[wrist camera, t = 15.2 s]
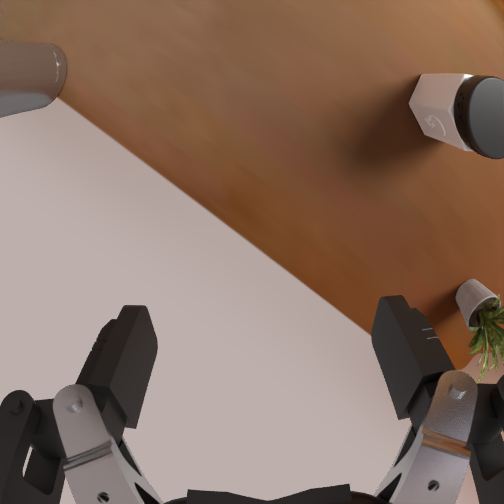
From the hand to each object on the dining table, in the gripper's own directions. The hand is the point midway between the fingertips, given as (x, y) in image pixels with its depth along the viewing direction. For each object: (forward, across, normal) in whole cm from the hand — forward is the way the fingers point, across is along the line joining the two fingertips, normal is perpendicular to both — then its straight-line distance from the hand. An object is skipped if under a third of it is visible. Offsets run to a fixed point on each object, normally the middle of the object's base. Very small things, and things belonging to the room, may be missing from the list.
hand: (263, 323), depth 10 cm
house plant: (+27, -35, +23) cm, 50 cm away
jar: (+27, -23, -7) cm, 36 cm away
